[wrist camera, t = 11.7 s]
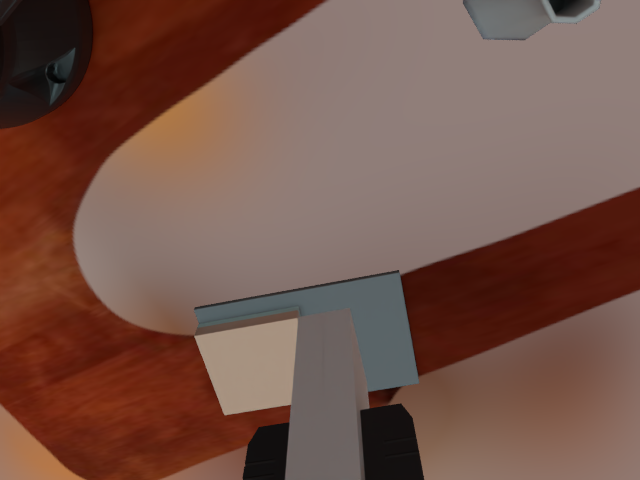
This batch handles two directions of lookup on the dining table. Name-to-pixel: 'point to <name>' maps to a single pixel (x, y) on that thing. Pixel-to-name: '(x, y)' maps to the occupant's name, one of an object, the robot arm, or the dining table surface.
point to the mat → (367, 314)
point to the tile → (251, 359)
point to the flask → (524, 15)
